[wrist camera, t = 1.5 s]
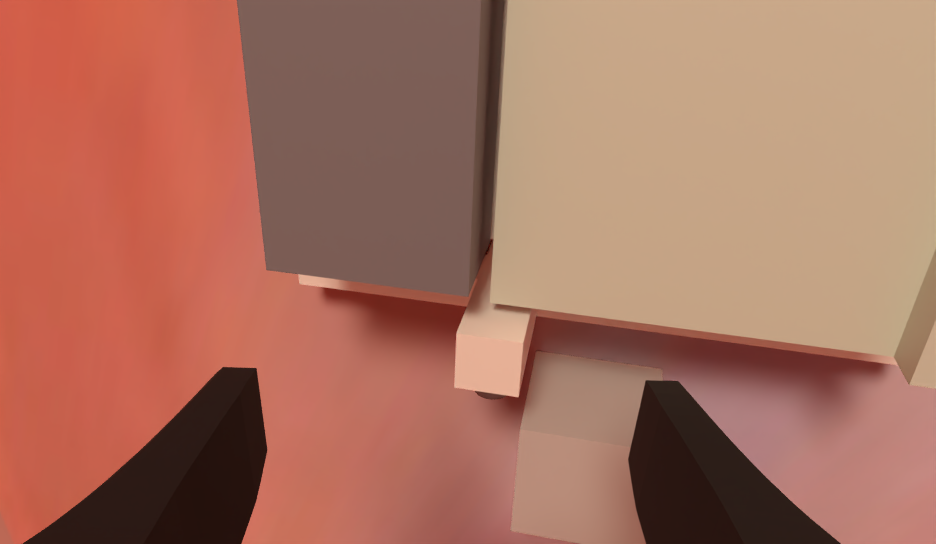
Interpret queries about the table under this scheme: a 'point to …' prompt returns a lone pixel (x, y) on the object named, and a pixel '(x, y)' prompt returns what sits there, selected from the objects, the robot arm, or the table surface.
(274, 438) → the table surface
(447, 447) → the table surface
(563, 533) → the beige cube
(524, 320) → the frame
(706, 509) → the robot arm
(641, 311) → the trapdoor
